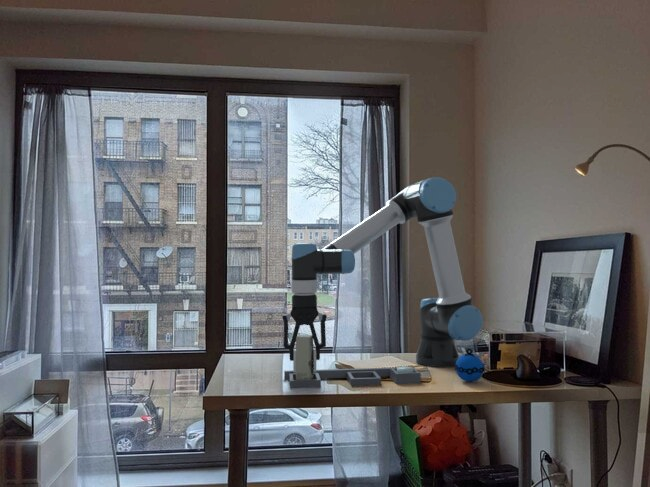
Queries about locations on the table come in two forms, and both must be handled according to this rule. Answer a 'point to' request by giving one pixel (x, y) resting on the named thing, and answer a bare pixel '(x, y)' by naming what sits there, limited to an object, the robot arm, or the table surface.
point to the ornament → (469, 367)
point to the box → (304, 357)
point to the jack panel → (353, 375)
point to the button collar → (405, 376)
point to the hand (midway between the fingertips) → (304, 370)
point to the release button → (404, 369)
